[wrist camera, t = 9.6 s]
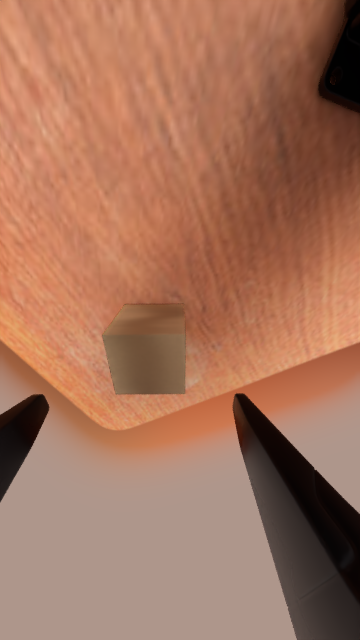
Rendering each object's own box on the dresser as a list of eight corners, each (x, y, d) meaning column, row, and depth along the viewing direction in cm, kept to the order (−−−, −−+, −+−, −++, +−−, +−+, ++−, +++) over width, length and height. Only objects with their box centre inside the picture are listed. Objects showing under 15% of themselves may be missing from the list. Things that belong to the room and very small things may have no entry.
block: (184, 303, 14) (185, 334, 10) (183, 352, 16) (185, 394, 12) (124, 303, 14) (101, 335, 10) (132, 352, 16) (115, 394, 12)
